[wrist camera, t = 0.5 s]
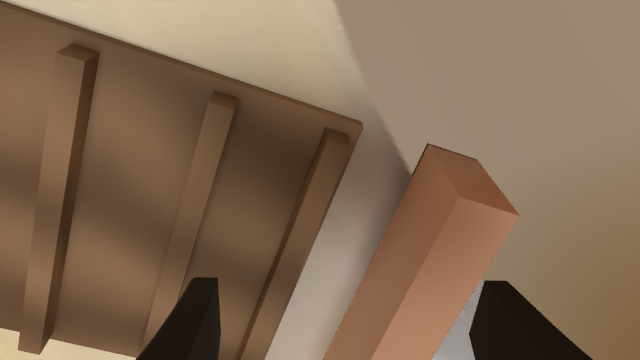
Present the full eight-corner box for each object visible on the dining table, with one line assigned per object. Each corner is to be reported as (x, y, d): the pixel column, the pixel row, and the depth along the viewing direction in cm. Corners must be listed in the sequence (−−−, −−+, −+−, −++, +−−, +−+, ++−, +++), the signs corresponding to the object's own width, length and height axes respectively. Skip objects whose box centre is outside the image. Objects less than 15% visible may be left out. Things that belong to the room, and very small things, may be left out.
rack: (254, 375, 28) (251, 407, 26) (-73, 301, 25) (-103, 332, 23) (361, 122, 21) (367, 141, 20) (-67, -22, 18) (-108, -16, 16)
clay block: (362, 369, 28) (374, 451, 24) (321, 360, 28) (325, 442, 24) (476, 159, 23) (519, 216, 18) (427, 142, 22) (459, 197, 18)
